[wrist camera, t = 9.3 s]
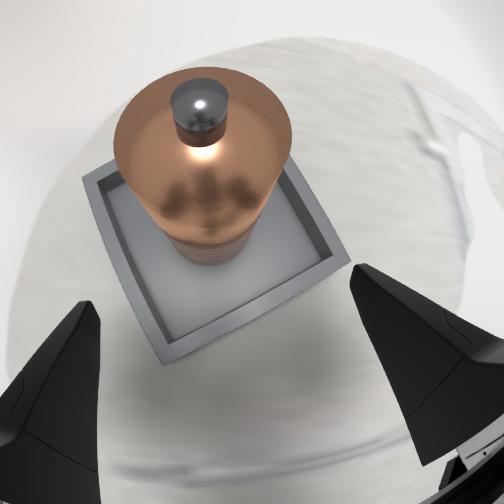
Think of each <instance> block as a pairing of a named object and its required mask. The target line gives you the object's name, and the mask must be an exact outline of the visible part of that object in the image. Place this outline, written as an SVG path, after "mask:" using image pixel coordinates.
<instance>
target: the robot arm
mask: <svg viewBox="0 0 504 504" xmlns="http://www.w3.org/2000/svg"><path fill="white" fill-rule="evenodd" d="M350 290H351V293H352V295H353V298H354V301H355V303H356V306H357V309H358V312H359V315H360V317H361V320H362V323H363V325H364V327H365V329H366V332H367V334H368V336H369V338H370V340H371V342H372V344H373V346H374V349H375V351H376V353H377V355H378V357H379V360H380V362H381V364H382V366H383V369H384V371H385V373H386V375H387V378H388V380H389V382H390V385H391V387H392V389H393V392H394V394H395V396H396V399H397V401H398V404H399V406H400V409H401V411H402V414H403V416H404V419H405V422H406V424H407V427H408V429H409V432H410V434H411V437H412V440H413V442H414V445H415V448H416V451H417V453H418V456H419V459H420V462H421V464H422V466H425V465H427V464H429V463H431V462H433V461H435V460H436V459H438V458H440V457H442V456H443V455H445V454H447V453H449V452H450V451H452V450H453V449H455V448H456V451H457V453H458V455H457V456H455V457H454V458H452V459H451V460H450V461H448V462H447V465H446V468H445V471H444V474H443V477H442V480H441V483H440V486H439V488H438V489H439V492H437V493H436V494H434V495H433V496H431V497H430V498H428V499H426V500H425V501H423V502H421V503H420V504H504V339H501V338H498V337H496V336H494V335H492V334H490V333H488V332H487V331H485V330H483V329H481V328H479V327H477V326H475V325H473V324H471V323H469V322H467V321H465V320H464V319H462V318H460V317H458V316H457V315H455V314H453V313H451V312H450V311H448V310H447V309H445V308H443V307H441V306H440V305H438V304H436V303H435V302H433V301H431V300H430V299H428V298H426V297H425V296H423V295H421V294H419V293H418V292H416V291H414V290H412V289H411V288H409V287H407V286H405V285H404V284H402V283H400V282H398V281H397V280H395V279H393V278H391V277H390V276H388V275H386V274H384V273H382V272H381V271H379V270H377V269H375V268H373V267H371V266H370V265H368V264H366V263H362V264H357V265H355V266H354V267H353V271H352V275H351V279H350ZM100 327H101V323H100V318H99V316H98V314H97V312H96V310H95V308H94V306H93V304H92V302H91V301H89V300H87V301H80V302H78V303H77V304H76V306H75V307H74V308H73V309H72V310H71V311H70V312H69V313H68V314H67V316H66V317H65V318H64V319H63V320H62V321H61V322H60V323H59V325H58V326H57V327H56V328H55V329H54V330H53V332H52V333H51V334H50V335H49V336H48V338H47V339H46V340H45V341H44V342H43V344H42V345H41V346H40V347H39V348H38V350H37V351H36V352H35V353H34V355H33V356H32V357H31V358H30V360H29V361H28V362H27V363H26V365H25V366H24V367H23V369H22V371H20V372H19V374H18V375H17V376H16V378H15V379H14V380H13V382H12V383H11V384H10V386H9V387H8V388H7V389H6V391H5V392H4V393H3V394H2V395H1V397H0V504H101V498H100V487H99V475H98V459H97V405H98V386H99V372H100Z"/></svg>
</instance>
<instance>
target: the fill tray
mask: <svg viewBox="0 0 504 504" xmlns="http://www.w3.org/2000/svg"><path fill="white" fill-rule="evenodd" d="M82 181H83V184H84V187H85V191H86V194H87V197H88V200H89V203H90V206H91V209H92V212H93V215H94V218H95V221H96V223H97V226H98V229H99V232H100V234H101V237H102V240H103V242H104V245H105V247H106V250H107V252H108V255H109V257H110V260H111V262H112V265H113V267H114V269H115V272H116V274H117V276H118V279H119V281H120V283H121V285H122V288H123V290H124V292H125V294H126V296H127V298H128V301H129V303H130V305H131V307H132V309H133V311H134V313H135V315H136V317H137V319H138V321H139V323H140V325H141V327H142V329H143V331H144V333H145V335H146V336H147V338H148V340H149V342H150V344H151V346H152V348H153V349H154V351H155V353H156V355H157V357H158V358H159V360H160V362H161V364H162V365H166V364H168V363H170V362H172V361H174V360H176V359H178V358H180V357H182V356H184V355H186V354H188V353H190V352H192V351H194V350H196V349H198V348H200V347H202V346H204V345H206V344H208V343H210V342H212V341H214V340H215V339H217V338H219V337H221V336H223V335H225V334H227V333H229V332H231V331H233V330H234V329H236V328H238V327H240V326H242V325H244V324H245V323H247V322H249V321H251V320H253V319H255V318H256V317H258V316H260V315H262V314H264V313H265V312H267V311H269V310H271V309H272V308H274V307H276V306H278V305H280V304H281V303H283V302H285V301H286V300H288V299H290V298H292V297H293V296H295V295H297V294H299V293H300V292H302V291H304V290H305V289H307V288H309V287H310V286H312V285H314V284H315V283H317V282H319V281H320V280H322V279H324V278H325V277H327V276H329V275H330V274H332V273H333V272H335V271H337V270H338V269H340V268H342V267H343V266H345V265H346V264H348V263H349V262H351V259H350V257H349V255H348V254H347V252H346V250H345V248H344V246H343V244H342V242H341V241H340V239H339V237H338V235H337V233H336V231H335V230H334V228H333V226H332V224H331V222H330V221H329V219H328V217H327V215H326V214H325V212H324V210H323V208H322V207H321V205H320V203H319V202H318V200H317V198H316V196H315V195H314V193H313V191H312V190H311V188H310V186H309V185H308V183H307V182H306V180H305V178H304V177H303V175H302V173H301V172H300V170H299V169H298V167H297V165H296V164H295V162H294V161H293V159H292V158H291V156H290V154H289V156H288V159H287V161H286V163H285V165H284V167H283V169H282V171H281V173H280V175H279V177H278V179H277V181H276V184H275V186H274V188H273V190H272V192H271V194H270V196H269V198H268V200H267V202H266V204H265V206H264V208H263V210H262V212H261V214H260V216H259V219H258V221H257V223H256V225H255V227H254V229H253V231H252V233H251V235H250V237H249V239H248V241H247V243H246V245H245V247H244V248H243V250H242V251H241V252H240V253H239V254H238V255H237V256H236V257H235V258H233V259H232V260H230V261H228V262H226V263H223V264H220V265H214V266H204V265H199V264H196V263H193V262H191V261H189V260H188V259H186V258H185V257H183V256H182V255H181V254H180V253H179V252H178V251H177V249H176V248H175V247H174V246H173V244H172V243H171V242H170V240H169V239H168V238H167V237H166V235H165V234H164V233H163V231H162V230H161V229H160V227H159V226H158V225H157V224H156V222H155V221H154V220H153V218H152V217H151V216H150V214H149V213H148V212H147V210H146V209H145V208H144V206H143V205H142V204H141V202H140V201H139V200H138V198H137V197H136V195H135V194H134V193H133V191H132V190H131V189H130V187H129V186H128V184H127V183H126V182H125V180H124V179H123V177H122V175H121V173H120V172H119V170H118V167H117V164H116V161H115V159H113V160H112V161H110V162H108V163H106V164H104V165H102V166H101V167H99V168H97V169H95V170H94V171H92V172H90V173H88V174H87V175H85V176H83V177H82Z"/></svg>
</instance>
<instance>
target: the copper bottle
mask: <svg viewBox="0 0 504 504" xmlns="http://www.w3.org/2000/svg"><path fill="white" fill-rule="evenodd" d="M291 142H292V130H291V124H290V120H289V117H288V114H287V112H286V110H285V108H284V106H283V104H282V103H281V101H280V100H279V99H278V97H277V96H276V95H275V94H274V93H273V92H272V91H271V90H270V89H269V88H268V87H266V86H265V85H264V84H263V83H261V82H259V81H258V80H256V79H255V78H253V77H250V76H248V75H246V74H244V73H241V72H238V71H235V70H230V69H226V68H218V67H197V68H190V69H184V70H181V71H177V72H174V73H171V74H168V75H166V76H164V77H162V78H160V79H158V80H156V81H154V82H153V83H151V84H149V85H148V86H147V87H145V88H144V89H143V90H141V91H140V92H139V93H138V94H137V95H136V96H135V97H134V98H133V99H132V100H131V102H130V103H129V104H128V105H127V107H126V108H125V110H124V111H123V113H122V115H121V117H120V119H119V121H118V124H117V127H116V130H115V135H114V156H115V161H116V164H117V167H118V170H119V172H120V173H121V175H122V177H123V179H124V180H125V182H126V183H127V184H128V186H129V187H130V189H131V190H132V191H133V193H134V194H135V195H136V197H137V198H138V200H139V201H140V202H141V204H142V205H143V206H144V208H145V209H146V210H147V212H148V213H149V214H150V216H151V217H152V218H153V220H154V221H155V222H156V224H157V225H158V226H159V227H160V229H161V230H162V231H163V233H164V234H165V235H166V237H167V238H168V239H169V240H170V242H171V243H172V244H173V246H174V247H175V248H176V249H177V251H178V252H179V253H180V254H181V255H182V256H183V257H185V258H186V259H188V260H189V261H191V262H193V263H196V264H199V265H204V266H214V265H220V264H223V263H226V262H228V261H230V260H232V259H233V258H235V257H236V256H237V255H238V254H239V253H240V252H241V251H242V250H243V248H244V247H245V245H246V243H247V241H248V239H249V237H250V235H251V233H252V231H253V229H254V227H255V225H256V223H257V221H258V219H259V216H260V214H261V212H262V210H263V208H264V206H265V204H266V202H267V200H268V198H269V196H270V194H271V192H272V190H273V188H274V186H275V184H276V181H277V179H278V177H279V175H280V173H281V171H282V169H283V167H284V165H285V163H286V161H287V159H288V156H289V152H290V149H291Z"/></svg>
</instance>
